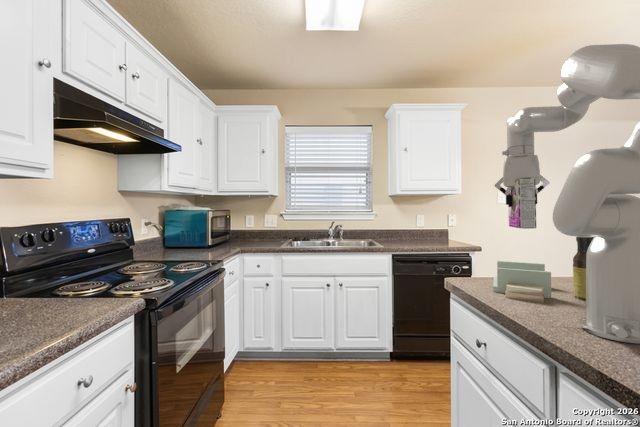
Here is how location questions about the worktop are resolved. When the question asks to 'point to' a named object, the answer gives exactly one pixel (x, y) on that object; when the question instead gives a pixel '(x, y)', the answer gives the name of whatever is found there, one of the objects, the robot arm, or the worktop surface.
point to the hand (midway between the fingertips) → (521, 206)
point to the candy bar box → (523, 204)
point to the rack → (522, 276)
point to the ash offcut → (524, 289)
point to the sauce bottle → (580, 266)
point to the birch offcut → (525, 297)
